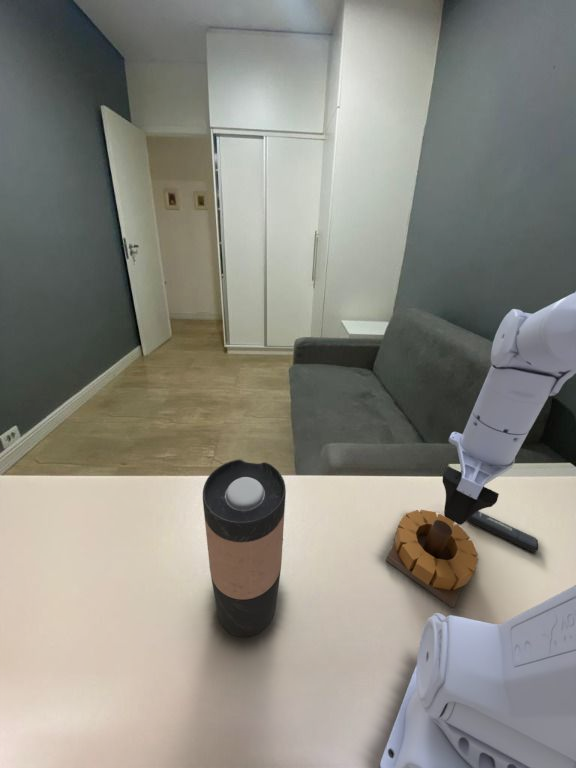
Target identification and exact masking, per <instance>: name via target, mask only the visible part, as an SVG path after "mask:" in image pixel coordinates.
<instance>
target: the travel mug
mask: <svg viewBox="0 0 576 768" xmlns="http://www.w3.org/2000/svg"><path fill="white" fill-rule="evenodd" d="M286 488H287V487H286V483H285V479H284V477H283V476H282V474H281V472H280V471H279V470H278V469H277V468H276V467H274V466H273V465H272V464H270V463H268V462H265V461H263V462H261V463H255V462H247V461H245V460H243V459H233V460H230V461H228V462H225V463H223V464H222V465H219V466H218V467H217V468H216V469H214V470H213V471H212V472H211V473H210V474H209V475H208V477H207V478H206V480H205V482H204V484H203V488H202V506H203V515H204V526H205V532H206V533H205V535H206V545H207V555H208V563H209V572H210V578H211V584H212V590H213V595H214V601H215V602H214V603H215V607H216V612H217V616H218V619H219V622H220V624H221V625H222V626H223V628H224V629H225V630H226V631H228V633H230V634H231V635H233V636H236V637H241V638H249V637H253V636H255V635H258V634H259V633H261V632H262V631H263V630H264V629H265V628H266V627H267V626H268V625H269V624H270V623H271V621H272V619H273V617H274V615H275V611H276V608H277V602H278V595H279V594H278V593H279V587H280V580H281V570H282V563H283V562H282V561H283V559H282V558H283V544H284V543H283V542H284V529H285V528H284V527H285V526H284V525H285V513H286V512H285V510H286V493H287V490H286Z"/></svg>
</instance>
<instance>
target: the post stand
mask: <svg viewBox="0 0 576 768" xmlns="http://www.w3.org/2000/svg"><path fill="white" fill-rule="evenodd" d="M451 535H452V529H451V527H450V526H449V525H448V524H447V523H445V522H444V521H441V520H436V521H434V522H433V524H432V526H431V529H430V531H429V533H428V535H426V534H421V535H418V536H417V540H418V543H419V544H420V546H421V547H422V548H423V549H424V551H425V552H427V553H428V554H430V555H431V556H433V557H435V558H436V559H442V560H447V561H448V560H450V559H452V556H451V553H450V550H449V549H448V548H447V546H446V545H447V543H448V541H449V539H450V537H451ZM398 555H399V552H397V551H396V544H395V542H393V544H392V545H391V548H390V550H389V551H388V553H387V554H386V557H385V562H387V563H388V564H390V565H391V566H393V567H394V568H395V569H397V570H398V571H400V572H401V573H402V574H404V575H405V576H407V578H410V579H411V580H412V581H414V582H415V583H417V584H418V585H419V586H420V587H422V588H424V590H426V591H428V592H429V593H431V594H432V595H433V596H435V597H436V598H438V599H439V600H441V601H442V602H443V603H445V604H446V605H448V606H449V607H450V608H451V609H454V607H455V606H456V603H457V601H458V597H459V595H460V592H461V589H462V586H461V587H459V588H457V589H455V590H453V588H451V589H450V590H447V589H441V588H436V587H432V583H431V581H430V583H429V585H428V584H426V583H425V582H423V581H422V580H420V579H419V578H417V577H416V576H415V575H413V574H412V571H413V569H414V568H413V569H410V570H408V569H407V567H406V566H405V564H404V563H403V562H402V560H401V559H400V557H399V556H398Z"/></svg>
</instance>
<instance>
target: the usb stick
mask: <svg viewBox="0 0 576 768" xmlns="http://www.w3.org/2000/svg"><path fill="white" fill-rule="evenodd" d="M467 521H468V522H470V523H473V524H474V525H477V526H479V527H481V528H482V529H485V530H487V531H489V532H491V533H493V534H494V535H497V536H499V537H500V538H503V539H504V540H507V541H509V542H511V543H513V544H514V545H517V546H519V547H521V548H524V549H526V550H528V551H530V552H532V553H534V552H536V551H538V550H539V542H538V539H537V538H536V537H535V536H533V535H530V534H528V533H526V532H524V531H522V530H520V529H518V528H515V527H513V526H511V525H509V524H507V523H505V522H503V521H501V520H498V519H496V518H494V517H493V516H490V515H487V514H486V513H483V512H481V511H480V510H479V511H477V512H476V513H475V514H473V515H472V516H471V517H470V518H469V519H468V520H467Z"/></svg>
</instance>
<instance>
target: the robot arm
mask: <svg viewBox="0 0 576 768" xmlns="http://www.w3.org/2000/svg"><path fill="white" fill-rule="evenodd" d="M490 363H491V366H490V367H489V370H488V372H487V374H486V375H487V376H486V378H485V380H484V382H483V384H482V387H481V389H480V392H479V394H478V396H477V399H476V401H475V403H474V405H473V408H472V410H471V413H470V416H469V418H468V420H467V421H466V422H467V423H466V425H465V427H464V430H463V432H462V433H460V432H457V431H453V432H451V433H450V436H449V437H448V443H449V444H451V445H454V446H455V447H456V450H457V454H458V459H459V460H458V461H459V465H460V471H459V470H457V469H455V468H453V467H451V466H447V467H446V469H445V471H444V472H443V474H442V484H443V487H444V491H445V500H444V501H445V503H444V510H443V514H444V515H443V516H445V517H447V518H448V519H450V520H452V521H454V524H456V525H457V524H458V525H459V526H462V525H463V524H465V523H466V522H467V521H468V519H469V518H470V517H471V516H472V515H473V514H475V513H476V512H477V511H479V512H480V511H481V510H483V509H488V508H491V507H493V506H494V505H496V503H497V502H498V498H499V495H500V493H499V492H496V491H494V490H492V489H490V488H488V487H485V485H487V484H488V483H490V482H491V481H493V480H494V479H496V478H498V477H500V476H501V475H503V474H505V473H506V472H508V471H510V470H511V469H512V468H513V467H514V464H515V463H516V456H517V455H518V453H519V451H520V450H521V448H522V445H523V444H524V442H525V440H526V438H527V436H528V435H529V432H530V431H531V429H532V427H533V425H534V423H535V422H536V420H537V418H538V416H539V415H540V413H541V411H542V409H543V408H544V406H545V404H546V402H547V400H548V398H549V397H552V396H556V395H557V394H559V392H560V391H561V389H562V387H563V386H564V384H565V383H566V382H567V381H568V380H569V379H571V378H573V376H574V375H575V374H576V290H575V292H573V293H570V294H569V295H567V296H565V297H563V298H561V299H559V300H557V301H555V302H553V303H551V304H549V305H547V306H545V307H543V308H541V309H539V310H538V311H535V312H534V313H529V312H523V310H521V309H517V308H512V309H511V310H510V311H508V313H507V314H505V316H504V317H503V319H502V321H501V322H500V324H499V327H498V329H497V330H496V333H495V335H494V339H493V342H492V346H491V351H490ZM402 699H403V700H402V702H401V705H400V707H399V710H398V713H397V716H396V719H395V721H394V724H393V726H392V729H391V732H390V734H389V737H388V740H387V742H386V745H385V748H384V751H383V754H382V757H381V758H380V762H379V768H576V584H575V585H573V586H571V587H569V588H567V589H565V590H563V591H562V592H560V593H558V594H556V595H554V596H552V597H550V598H548V599H547V600H544V601H542V602H541V603H538V604H536V605H535V606H532V607H530V608H529V609H527V610H525V611H523V612H521V613H519V614H517V615H515V616H513V617H512V618H510V619H508V620H506V621H504V622H502V623H500V624H497V623H491V622H487V621H486V622H485V621H481V620H477V619H473V618H468V617H462V616H458V615H451V614H450V615H448V616H445V615H444V614H442V613H440V612H436V613H433V615H432V616H430V617H428V618H427V619H426V621H425V622H424V625H423V628H422V631H421V634H420V639H419V645H418V651H417V659H416V665H415V667H414V670H413V672H412V675H411V678H410V681H409V683H408V686H407V689H406V691H405V694H404V697H403V698H402ZM389 751H391V753H392V755H393V756H392V757H391V756H390V755H389V754H390V753H389Z"/></svg>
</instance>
